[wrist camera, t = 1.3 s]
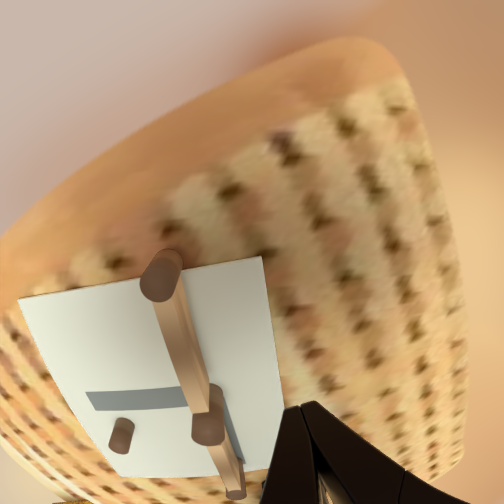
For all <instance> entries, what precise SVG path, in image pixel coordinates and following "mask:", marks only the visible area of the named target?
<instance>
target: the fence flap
mask: <svg viewBox="0 0 504 504" xmlns="http://www.w3.org/2000/svg"><path fill="white" fill-rule="evenodd" d="M182 268H183V260H182V258H181V256H180V255H179V253H177V252H176V251H174V250H172V249H163V250H161V251H159V252H158V253H157V254H156V256H155V257H154V259H153V260H152V261H151V263H150V264H149V266H148V267H147V269H146V270H145V272H144V273H143V275H142V276H141V278H140V283H139V285H140V290H141V292H142V294H143V295H144V296H145V297H146V298H147V299H149V300H150V301H152V304H153V307H154V310H155V313H156V317H157V320H158V323H159V326H160V329H161V332H162V335H163V338H164V341H165V344H166V347H167V350H168V353H169V356H170V358H171V361H172V364H173V367H174V370H175V372H176V375H177V378H178V380H179V383H180V385H181V388H182V391H183V393H184V396H185V398H186V401H187V403H188V406H189V408H190V411H191V413H192V414H194V413H203V412H209V376H208V373H207V370H206V367H205V363H204V360H203V357H202V353H201V350H200V347H199V343H198V340H197V336H196V333H195V329H194V325H193V322H192V318H191V314H190V311H189V307H188V303H187V299H186V295H185V292H184V288H183V284H182V280H181V275H180V274H181V271H182Z"/></svg>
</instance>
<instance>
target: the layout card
mask: <svg viewBox="0 0 504 504" xmlns="http://www.w3.org/2000/svg"><path fill="white" fill-rule="evenodd" d="M180 275H181V280H182V284H183V288H184V292H185V295H186V299H187V303H188V307H189V311H190V314H191V318H192V322H193V325H194V329H195V333H196V336H197V340H198V343H199V347H200V350H201V353H202V357H203V360H204V363H205V367H206V370H207V373H208V376H209V383H213V384H216V385H218V386H219V387H220V388H221V389H222V391H223V403H224V425H225V428H226V431H227V433H228V436H229V439H230V442H231V444H232V447H233V450H234V453H235V455H236V457H239V458H241V459H242V460H243V468H244V472H248V471H255V470H261V469H267V468H269V466H270V462H271V458H272V455H273V451H274V447H275V443H276V439H277V435H278V431H279V426H280V422H281V418H282V414H283V411H284V402H283V395H282V389H281V382H280V375H279V368H278V361H277V355H276V348H275V341H274V335H273V328H272V321H271V315H270V308H269V302H268V295H267V288H266V282H265V275H264V269H263V263H262V257H261V256H257V257H251V258H246V259H240V260H235V261H229V262H224V263H218V264H212V265H207V266H201V267H196V268H190V269H185V270H182V271H181V274H180ZM140 278H141V277H140ZM140 278H134V279H128V280H123V281H117V282H111V283H105V284H100V285H94V286H88V287H82V288H77V289H71V290H65V291H59V292H54V293H48V294H42V295H36V296H30V297H24V298H19V299H18V303H19V306H20V308H21V311H22V313H23V316H24V318H25V321H26V323H27V325H28V328H29V330H30V332H31V335H32V337H33V339H34V341H35V343H36V346H37V348H38V350H39V352H40V354H41V356H42V358H43V360H44V362H45V364H46V366H47V368H48V370H49V372H50V374H51V375H52V377H53V379H54V381H55V383H56V384H57V386H58V388H59V390H60V391H61V393H62V395H63V397H64V398H65V400H66V402H67V403H68V405H69V407H70V408H71V410H72V411H73V413H74V414H75V416H76V418H77V419H78V421H79V422H80V424H81V425H82V427H83V428H84V430H85V431H86V432H87V434H88V435H89V437H90V438H91V440H92V441H93V442H94V444H95V445H96V446H97V448H98V449H99V450H100V452H101V453H102V454H103V456H104V457H105V458H106V460H107V461H108V462H109V463H110V465H111V466H112V467H113V468H114V470H115V471H116V472H117V473H118V474H119V476H120V477H140V478H181V477H201V476H214V475H220V474H219V472H218V470H217V468H216V466H215V464H214V462H213V460H212V458H211V456H210V454H209V451H208V449H207V447H206V446H203V445H199V444H197V443H196V442H194V441H193V440H192V438H191V429H192V413H191V411H190V408H189V406H188V403H187V401H186V398H185V396H184V393H183V391H182V388H181V385H180V383H179V380H178V378H177V375H176V372H175V370H174V367H173V364H172V361H171V358H170V356H169V353H168V350H167V347H166V344H165V341H164V338H163V335H162V332H161V329H160V326H159V323H158V320H157V317H156V313H155V310H154V307H153V304H152V301H150V300H149V299H147V298H146V297H145V296H144V295H143V294H142V292H141V290H140V285H139V283H140ZM120 417H124V418H127V419H129V420H131V421H132V422H133V423H134V425H135V429H134V433H133V437H132V441H131V445H130V449H129V453H128V454H125V455H122V454H117V453H115V452H113V451H112V450H111V449H110V448H109V447H108V444H109V440H110V437H111V434H112V431H113V428H114V425H115V422H116V419H117V418H120Z"/></svg>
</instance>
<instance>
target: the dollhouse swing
mask: <svg viewBox="0 0 504 504" xmlns="http://www.w3.org/2000/svg"><path fill="white" fill-rule="evenodd" d="M53 504H93V503H91V502H89V501H87V500H82V501H73V502H62V503H61V502H60V503H53Z"/></svg>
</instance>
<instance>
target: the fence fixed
mask: <svg viewBox="0 0 504 504" xmlns="http://www.w3.org/2000/svg"><path fill="white" fill-rule="evenodd" d="M134 429H135V425H134V423H133V422H132V421H131V420H129V419H127V418H124V417H120V418H117V419H116V422H115V425H114V428H113V431H112V434H111V437H110V440H109V444H108V447H109V448H110V449H111V450H112V451H113V452H115V453H117V454H122V455H125V454H128V453H129V449H130V445H131V441H132V437H133V433H134ZM191 438H192V440H193V441H194V442H196V443H197V444H199V445H203V446H206V447H207V449H208V451H209V454H210V456H211V458H212V460H213V462H214V464H215V466H216V468H217V470H218V472H219V474H220V476H221V478H222V480H223V482H224V484H225V486H226V497H227V498H228V499H231V500H241V499H244V498H246V496H247V494H246V486H245V477H244V468H243V460H242V459H241V458H239V457H236V455H235V453H234V450H233V447H232V444H231V442H230V439H229V436H228V433H227V431H226V428H225V425H224V403H223V391H222V389H221V388H220V387H219V386H218V385H216V384H213V383H209V412H203V413H194V414H192V429H191Z"/></svg>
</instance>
